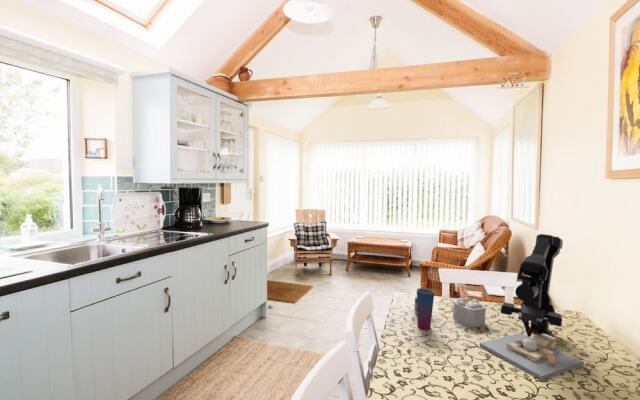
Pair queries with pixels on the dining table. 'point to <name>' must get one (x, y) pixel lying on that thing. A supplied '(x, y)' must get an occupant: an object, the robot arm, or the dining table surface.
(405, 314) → the dining table surface
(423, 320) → the cup
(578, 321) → the dining table surface
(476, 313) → the lumpy-topped squat cylinder
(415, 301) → the pill bottle
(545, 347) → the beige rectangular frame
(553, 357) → the orange rounded piece
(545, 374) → the board
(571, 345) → the dining table surface
